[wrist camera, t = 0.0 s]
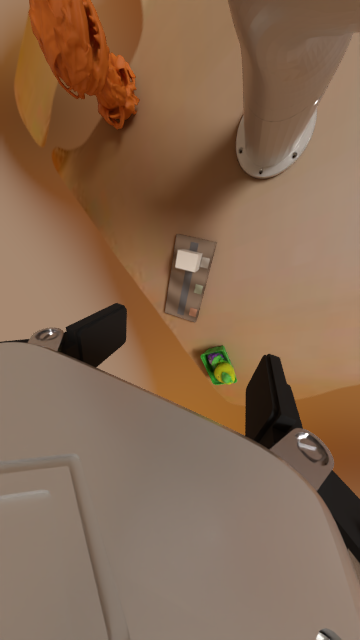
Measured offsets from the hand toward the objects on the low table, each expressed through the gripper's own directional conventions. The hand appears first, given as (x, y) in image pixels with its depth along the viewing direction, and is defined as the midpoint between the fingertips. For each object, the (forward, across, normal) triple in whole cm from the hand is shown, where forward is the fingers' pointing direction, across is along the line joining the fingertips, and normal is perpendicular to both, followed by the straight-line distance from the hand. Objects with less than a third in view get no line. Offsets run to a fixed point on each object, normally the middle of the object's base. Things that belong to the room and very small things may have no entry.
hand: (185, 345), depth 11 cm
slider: (+35, +10, 0) cm, 36 cm away
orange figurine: (+37, +32, -28) cm, 56 cm away
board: (+37, +10, +6) cm, 39 cm away
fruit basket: (+37, -6, +27) cm, 46 cm away
